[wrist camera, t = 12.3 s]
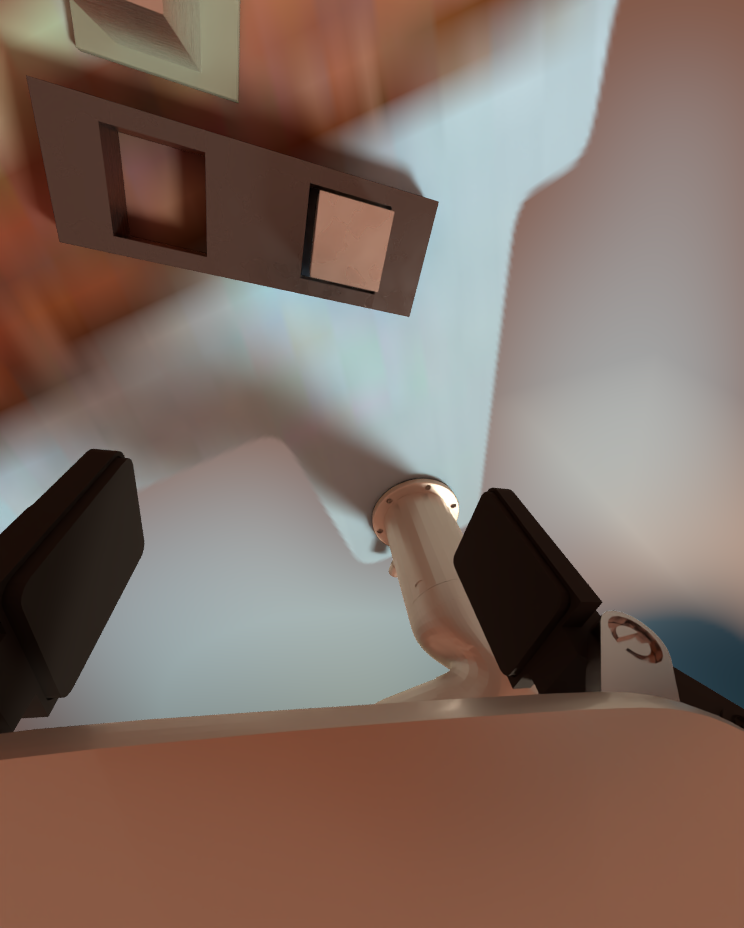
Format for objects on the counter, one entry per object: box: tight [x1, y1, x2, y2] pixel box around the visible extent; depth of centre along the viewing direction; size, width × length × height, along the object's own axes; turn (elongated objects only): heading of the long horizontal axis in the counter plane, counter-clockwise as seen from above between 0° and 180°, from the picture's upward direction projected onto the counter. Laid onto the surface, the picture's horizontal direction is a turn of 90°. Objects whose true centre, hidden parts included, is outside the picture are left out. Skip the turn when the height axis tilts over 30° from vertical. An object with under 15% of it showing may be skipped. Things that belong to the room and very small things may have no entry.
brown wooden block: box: [309, 190, 394, 292], centre depth 29 cm, size 5×5×8 cm
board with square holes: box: [26, 75, 439, 317], centre depth 29 cm, size 9×28×3 cm, turn 77°
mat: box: [69, 0, 240, 103], centre depth 23 cm, size 7×10×1 cm
